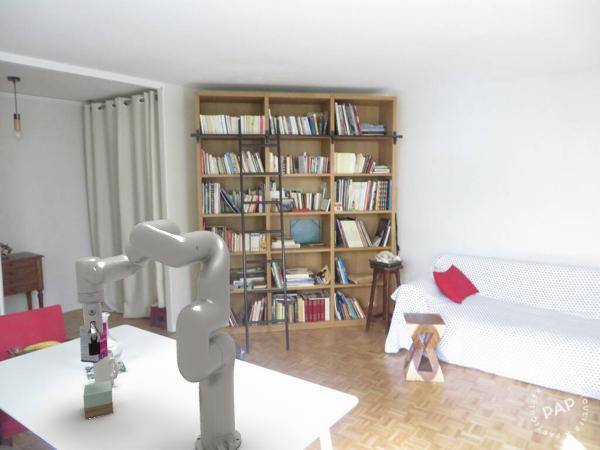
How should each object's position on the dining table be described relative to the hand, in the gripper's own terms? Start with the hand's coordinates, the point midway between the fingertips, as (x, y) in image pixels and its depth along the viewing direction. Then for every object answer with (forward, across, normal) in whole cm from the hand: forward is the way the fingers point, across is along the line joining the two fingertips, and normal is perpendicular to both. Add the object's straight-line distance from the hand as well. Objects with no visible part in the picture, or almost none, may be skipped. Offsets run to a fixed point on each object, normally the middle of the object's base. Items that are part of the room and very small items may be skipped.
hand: (94, 349), depth 138 cm
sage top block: (+17, 0, 0) cm, 17 cm away
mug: (+21, +18, -4) cm, 28 cm away
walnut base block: (+21, 0, 0) cm, 21 cm away
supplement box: (+3, 0, 0) cm, 3 cm away
